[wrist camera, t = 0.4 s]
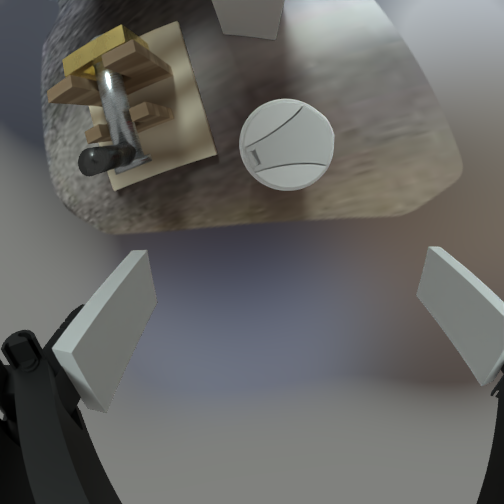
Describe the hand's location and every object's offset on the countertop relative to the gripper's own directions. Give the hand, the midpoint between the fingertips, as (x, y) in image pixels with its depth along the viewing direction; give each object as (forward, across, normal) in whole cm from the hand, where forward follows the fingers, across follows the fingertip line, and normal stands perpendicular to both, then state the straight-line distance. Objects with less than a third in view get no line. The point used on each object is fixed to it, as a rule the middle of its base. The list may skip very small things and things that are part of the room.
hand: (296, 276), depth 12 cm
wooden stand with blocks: (+28, -17, +12) cm, 35 cm away
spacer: (+20, -19, +17) cm, 32 cm away
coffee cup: (+28, +1, +5) cm, 28 cm away
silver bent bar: (+21, -17, +11) cm, 29 cm away
